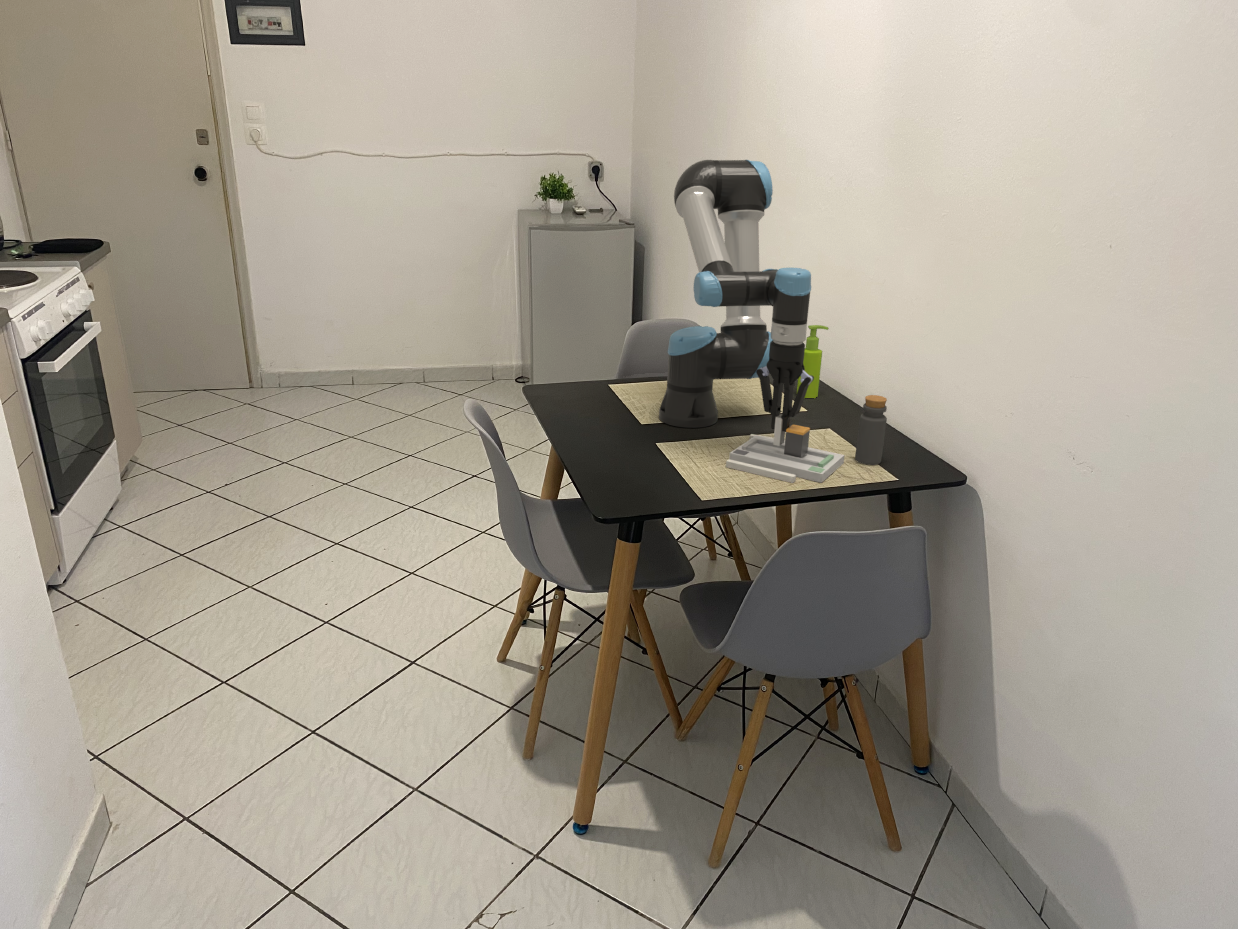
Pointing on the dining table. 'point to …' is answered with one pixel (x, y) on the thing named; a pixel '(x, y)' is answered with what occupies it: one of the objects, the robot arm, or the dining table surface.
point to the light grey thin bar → (763, 437)
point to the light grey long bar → (761, 471)
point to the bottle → (871, 431)
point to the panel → (788, 459)
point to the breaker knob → (796, 441)
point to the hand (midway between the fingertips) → (778, 443)
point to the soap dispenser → (812, 361)
